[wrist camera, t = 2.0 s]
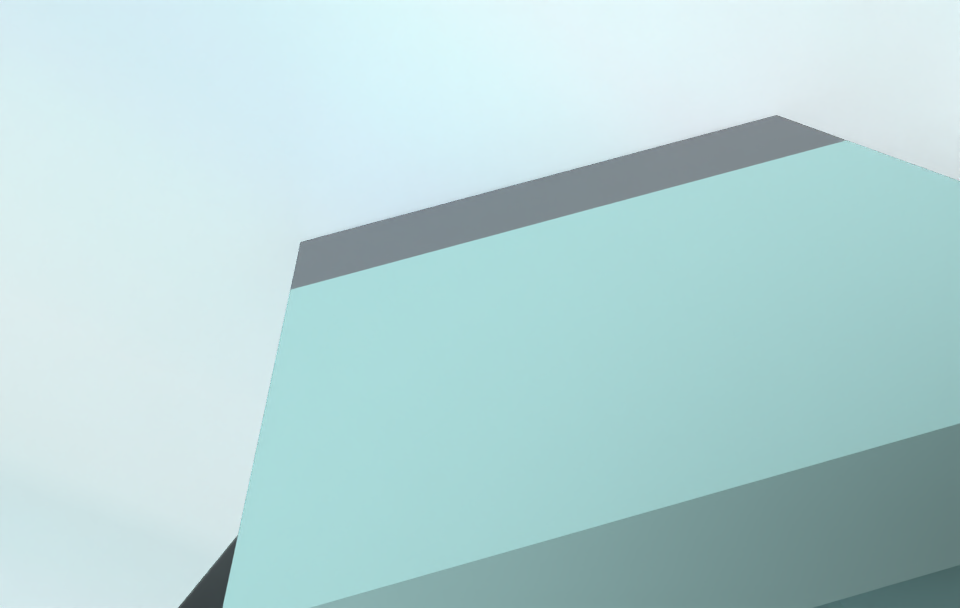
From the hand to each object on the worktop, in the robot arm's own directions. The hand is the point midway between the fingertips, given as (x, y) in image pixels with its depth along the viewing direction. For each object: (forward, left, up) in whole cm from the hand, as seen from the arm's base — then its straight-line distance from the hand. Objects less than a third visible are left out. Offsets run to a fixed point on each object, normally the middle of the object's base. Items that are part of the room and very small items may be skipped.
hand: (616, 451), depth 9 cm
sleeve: (0, 0, -2) cm, 2 cm away
